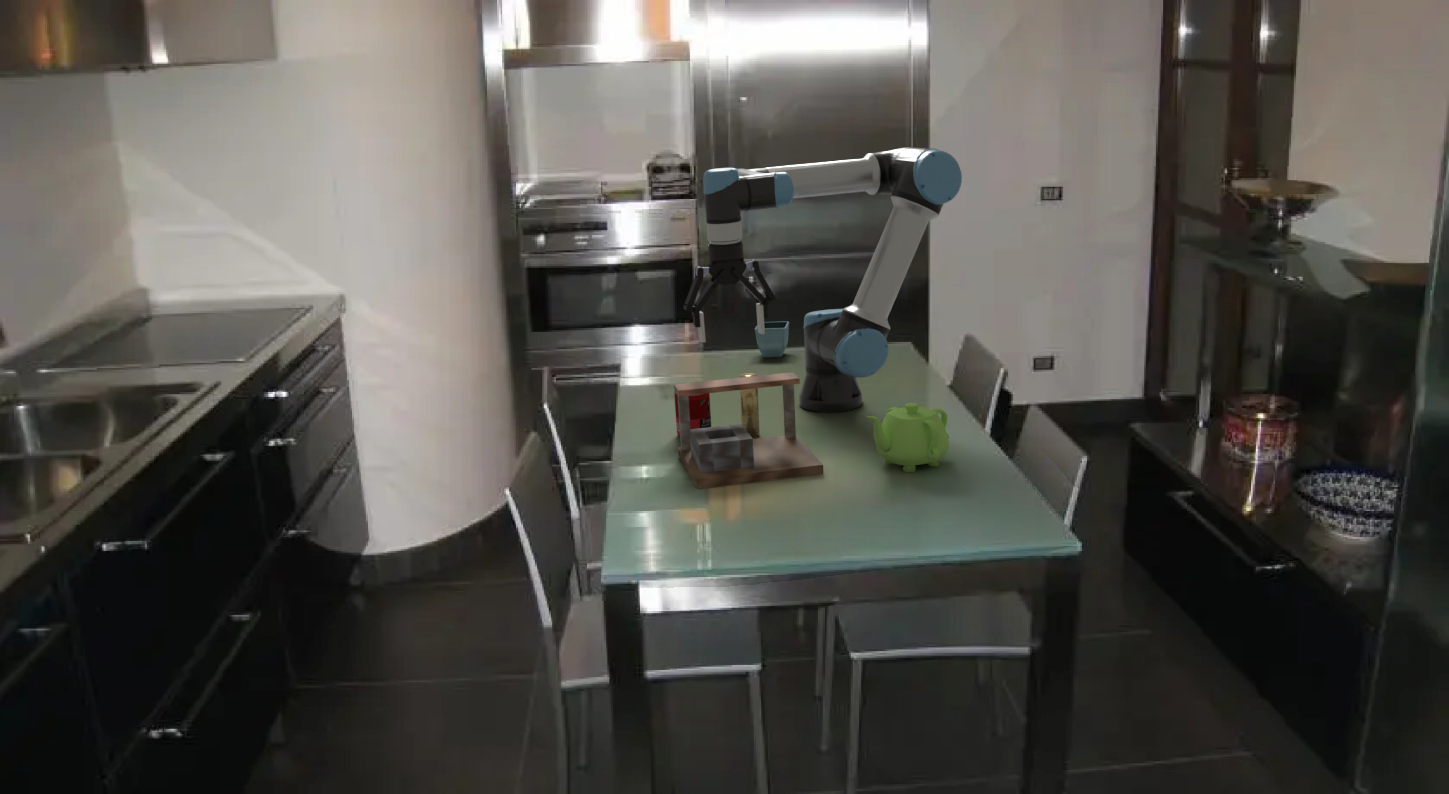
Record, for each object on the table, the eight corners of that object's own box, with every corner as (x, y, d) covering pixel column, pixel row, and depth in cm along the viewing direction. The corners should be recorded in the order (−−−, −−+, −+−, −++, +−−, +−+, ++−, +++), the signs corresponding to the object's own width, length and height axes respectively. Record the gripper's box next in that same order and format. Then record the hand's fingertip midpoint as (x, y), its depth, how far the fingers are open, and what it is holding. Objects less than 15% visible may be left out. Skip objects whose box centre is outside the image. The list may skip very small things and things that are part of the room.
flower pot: (755, 359, 346) (754, 328, 343) (760, 352, 354) (758, 321, 352) (786, 359, 344) (785, 328, 342) (790, 351, 352) (789, 321, 350)
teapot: (936, 480, 242) (936, 419, 239) (866, 474, 248) (865, 413, 244) (955, 455, 256) (955, 396, 253) (889, 449, 262) (888, 392, 258)
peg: (757, 432, 279) (754, 372, 275) (761, 437, 275) (758, 376, 271) (740, 433, 278) (737, 374, 274) (744, 438, 274) (741, 378, 271)
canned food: (708, 440, 275) (705, 393, 272) (673, 440, 276) (670, 392, 274) (715, 430, 282) (712, 383, 279) (681, 429, 284) (678, 383, 281)
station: (795, 442, 270) (792, 372, 265) (823, 474, 249) (821, 397, 245) (678, 456, 265) (674, 384, 261) (697, 488, 244) (692, 411, 240)
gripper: (774, 232, 272) (780, 326, 277) (664, 245, 265) (673, 341, 271) (785, 236, 265) (791, 333, 270) (673, 250, 258) (681, 348, 264)
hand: (732, 337), depth 271 cm, fingers open, 13 cm apart
